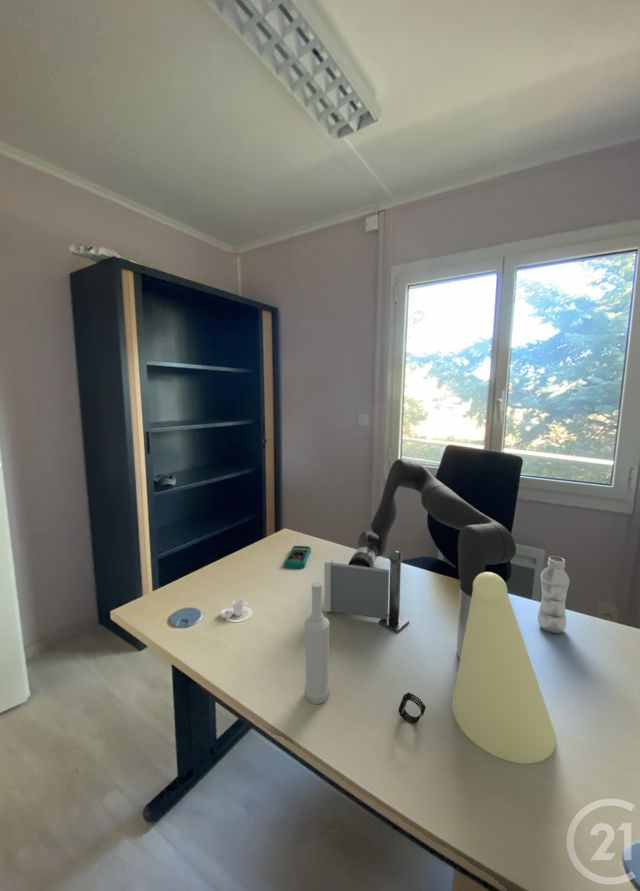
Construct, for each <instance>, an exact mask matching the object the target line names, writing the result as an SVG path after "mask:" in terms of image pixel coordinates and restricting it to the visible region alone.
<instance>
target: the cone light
mask: <svg viewBox="0 0 640 891" xmlns="http://www.w3.org/2000/svg"><path fill="white" fill-rule="evenodd" d="M451 708H452V713H453V717H454V719H455V721H456V724H457V725H458V727H459V729H461V731H462V732H463V733H464V734H465V735H466V736H467V738H468V739H470V740H471V741H472V742H473V743H474V744H475V745H477V746H478V747H479V748H481V749H482V750H484V751H485V752H487V753H489V754H491V755H492V756H495V757H497V758H499V759H502V760H504V761H509V762H512V763H516V764H524V765H528V764H537V763H541V762H543V761H545V760H546V759H548V758H549V757H550V756H551V755H552V754H553V753H554V751H555V749H556V744H557V737H556V732H555V729H554V726H553V723H552V720H551V718H550V714H549V712H548V709H547V706H546V702H545V699H544V697H543V694H542V691H541V687H540V686H539V682H538V679H537V676H536V672H535V670H534V667H533V665H532V662H531V658H530V656H529V652H528V650H527V647H526V644H525V641H524V638H523V635H522V632H521V629H520V626H519V623H518V621H517V617H516V614H515V611H514V609H513V606H512V603H511V599H510V597H509V594H508V587H507V584H506V582H505V580H504V579H503V578H502V577H501V575H498V574H497V573H494V572H492V571H485V572H484V573H481V574H479V575H478V576H476V578H475V580H474V581H473V592H472V598H471V603H470V609H469V614H468V619H467V625H466V630H465V636H464V641H463V647H462V652H461V657H460V659H459V662H458V670H457V674H456V680H455V684H454V691H453V696H452V702H451Z"/></svg>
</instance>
